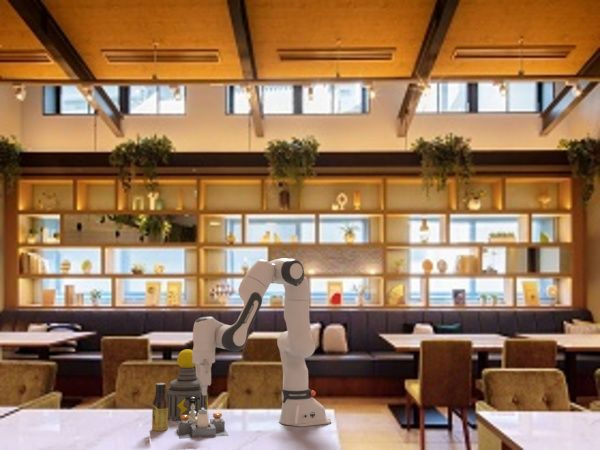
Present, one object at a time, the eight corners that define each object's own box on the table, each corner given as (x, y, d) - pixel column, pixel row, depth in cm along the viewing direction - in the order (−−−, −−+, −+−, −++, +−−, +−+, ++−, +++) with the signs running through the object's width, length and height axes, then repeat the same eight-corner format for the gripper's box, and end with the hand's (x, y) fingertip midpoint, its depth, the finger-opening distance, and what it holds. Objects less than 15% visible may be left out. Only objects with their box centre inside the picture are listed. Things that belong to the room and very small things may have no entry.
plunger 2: (221, 426, 269) (221, 412, 269) (222, 428, 266) (222, 414, 266) (212, 427, 268) (212, 413, 269) (213, 429, 265) (213, 415, 265)
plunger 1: (188, 428, 266) (189, 414, 266) (189, 430, 262) (189, 416, 263) (179, 428, 265) (180, 415, 265) (180, 431, 261) (180, 416, 262)
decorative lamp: (204, 421, 287) (204, 351, 289) (160, 421, 287) (162, 351, 290) (210, 412, 306) (211, 347, 308) (170, 412, 306) (171, 346, 308)
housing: (223, 430, 271) (223, 418, 271) (228, 439, 256) (228, 426, 257) (176, 433, 266) (176, 420, 266) (179, 442, 252) (179, 429, 252)
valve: (197, 428, 275) (197, 398, 276) (182, 427, 277) (182, 398, 277) (202, 424, 282) (202, 396, 283) (187, 423, 283) (188, 395, 284)
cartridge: (196, 432, 260) (196, 407, 261) (207, 432, 262) (207, 407, 262) (197, 435, 256) (198, 410, 257) (209, 434, 257) (209, 409, 258)
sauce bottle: (153, 431, 269) (154, 382, 270) (168, 431, 269) (169, 381, 271) (150, 435, 262) (151, 384, 264) (166, 435, 263) (167, 384, 264)
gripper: (215, 361, 252) (214, 398, 251) (208, 354, 272) (208, 388, 271) (198, 361, 250) (198, 398, 249) (193, 355, 270) (192, 389, 269)
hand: (203, 393), depth 260 cm, fingers open, 5 cm apart
